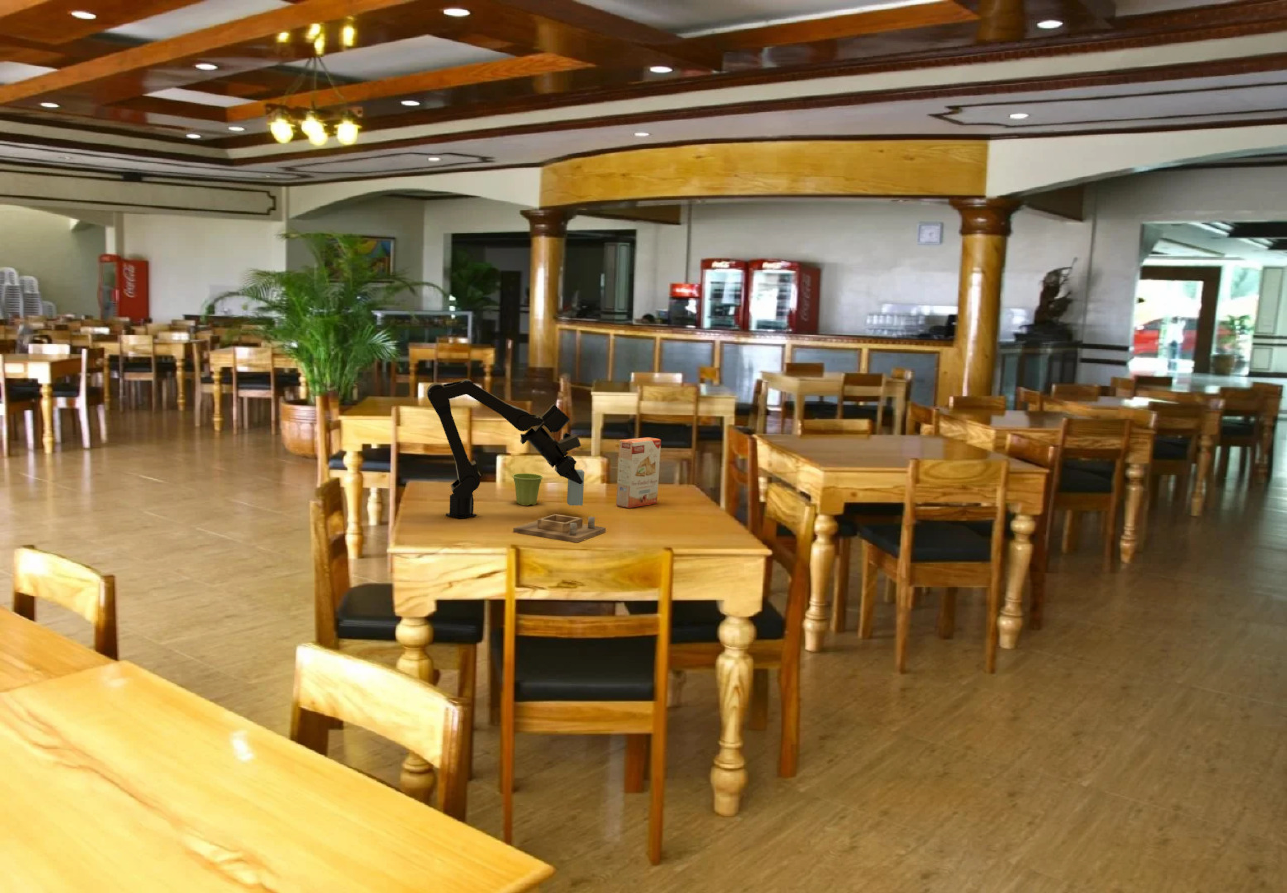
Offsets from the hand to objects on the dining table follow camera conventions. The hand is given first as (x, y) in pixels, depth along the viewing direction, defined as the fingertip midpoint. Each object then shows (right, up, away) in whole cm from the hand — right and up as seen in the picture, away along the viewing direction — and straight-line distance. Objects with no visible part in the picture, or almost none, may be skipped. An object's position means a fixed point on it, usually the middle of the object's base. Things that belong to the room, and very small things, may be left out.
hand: (580, 481), depth 317 cm
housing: (-4, -13, -21) cm, 25 cm away
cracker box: (+17, -8, +22) cm, 29 cm away
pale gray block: (-2, -7, +1) cm, 7 cm away
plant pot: (-17, -7, +16) cm, 25 cm away
